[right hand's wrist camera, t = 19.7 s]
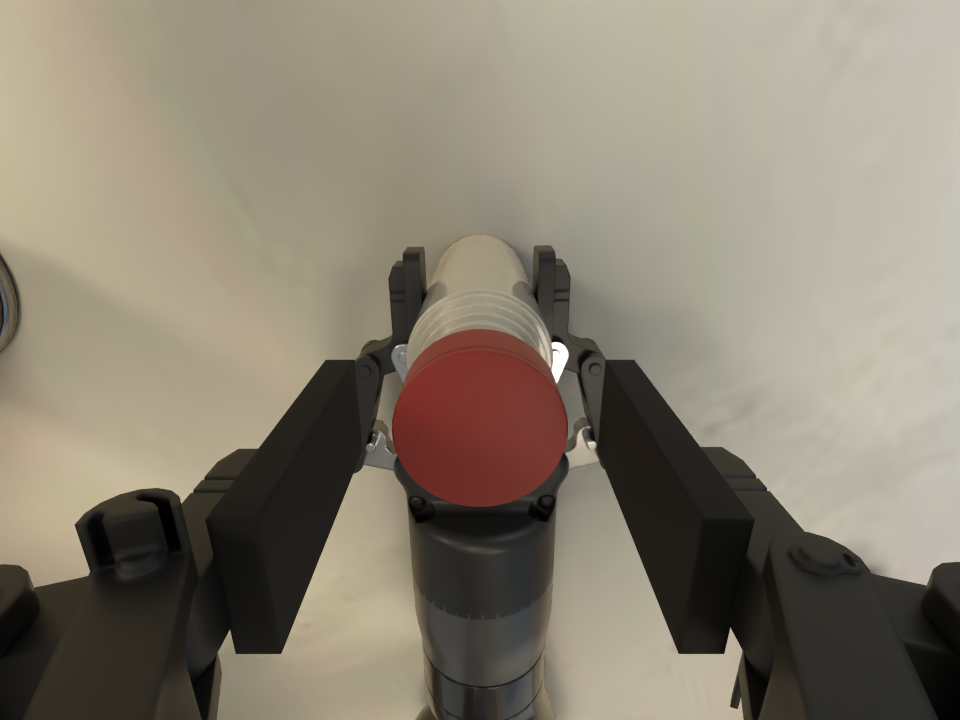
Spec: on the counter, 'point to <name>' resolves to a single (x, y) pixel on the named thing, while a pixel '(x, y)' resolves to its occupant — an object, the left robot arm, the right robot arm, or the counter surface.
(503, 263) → the bottle
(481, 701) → the left robot arm
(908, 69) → the counter surface
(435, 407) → the cap
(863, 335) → the counter surface
